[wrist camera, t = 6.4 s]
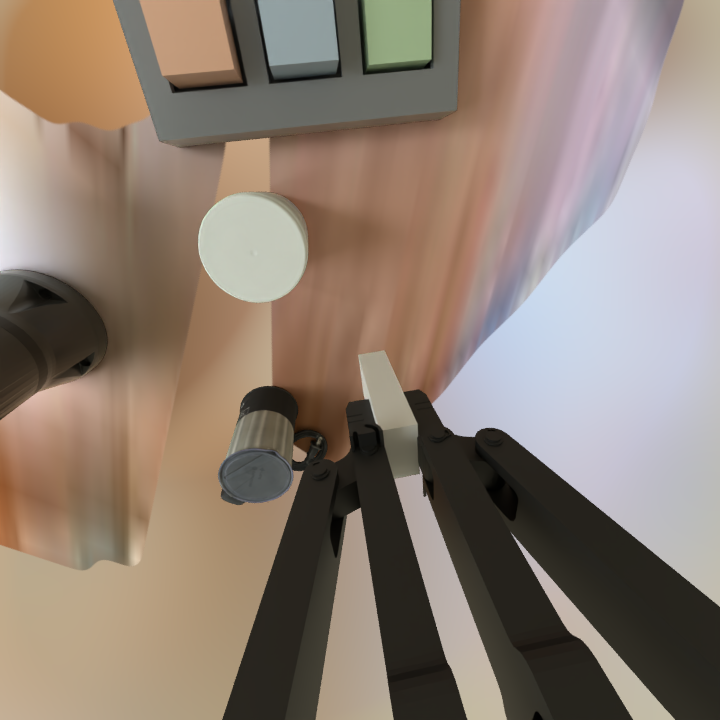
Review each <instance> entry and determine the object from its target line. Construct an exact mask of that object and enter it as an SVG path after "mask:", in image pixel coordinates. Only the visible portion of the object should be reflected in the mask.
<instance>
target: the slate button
mask: <svg viewBox="0 0 720 720" xmlns="http://www.w3.org/2000/svg"><path fill="white" fill-rule="evenodd" d="M258 5H259V10H260V16H261V21H262V27H263V33H264V38H265V44H266V49H267V55H268V60H269V66H270V69H271V72H272V74H273V77H274V80H279V79H290V78H300V77H311V76H321V75H332V74H336V71H337V66H338V61H339V58H338V48H337V38H336V28H335V18H334V8H333V0H258Z"/></svg>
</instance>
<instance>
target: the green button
mask: <svg viewBox="0 0 720 720" xmlns="http://www.w3.org/2000/svg"><path fill="white" fill-rule="evenodd" d="M357 1H358V15H359V28H360V41H361V54H362V68H363V75H370V74H380V73H391V72H401V71H412V70H422V69H423V68H424V67H425V66H426V65H427V63H428V62H429V61H430V60H431V25H432V0H357Z"/></svg>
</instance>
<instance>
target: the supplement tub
mask: <svg viewBox="0 0 720 720" xmlns="http://www.w3.org/2000/svg"><path fill="white" fill-rule="evenodd" d="M198 249H199V254H200V258H201V261H202V264H203V266H204V268H205V270H206V272H207V273H208V275H209V276H210V278H211V279H212V280H213V281H214V282H215V283H216V284H217V285H218V286H219V287H220V288H221V289H222V290H224V291H225V292H226V293H228V294H230V295H231V296H233V297H235V298H238V299H240V300H244V301H248V302H254V303H263V302H270V301H274V300H277V299H279V298H281V297H283V296H285V295H286V294H288V293H289V292H290V291H292V290H293V289H294V288H295V286H296V285H297V284H298V282H299V281H300V279H301V278H302V276H303V274H304V272H305V269H306V266H307V261H308V231H307V226H306V223H305V220H304V218H303V216H302V214H301V212H300V211H299V210H298V208H297V207H296V206H295V205H294V204H293V203H292V202H291V201H289V200H288V199H287V198H285V197H283V196H281V195H278V194H276V193H271V192H242V193H237V194H233V195H230V196H228V197H226V198H224V199H222V200H221V201H219V202H218V203H216V204H215V205H214V206H213V207H212V208H211V209H210V210H209V211H208V213H207V214H206V215H205V217H204V219H203V221H202V223H201V226H200V229H199V235H198Z"/></svg>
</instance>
